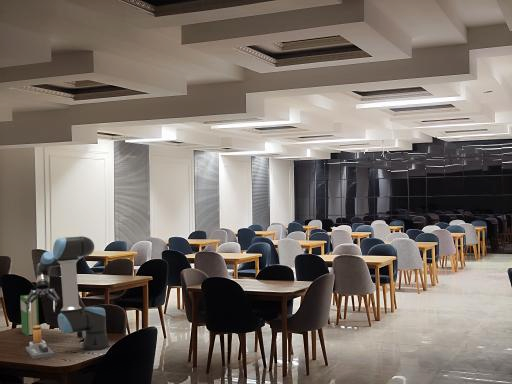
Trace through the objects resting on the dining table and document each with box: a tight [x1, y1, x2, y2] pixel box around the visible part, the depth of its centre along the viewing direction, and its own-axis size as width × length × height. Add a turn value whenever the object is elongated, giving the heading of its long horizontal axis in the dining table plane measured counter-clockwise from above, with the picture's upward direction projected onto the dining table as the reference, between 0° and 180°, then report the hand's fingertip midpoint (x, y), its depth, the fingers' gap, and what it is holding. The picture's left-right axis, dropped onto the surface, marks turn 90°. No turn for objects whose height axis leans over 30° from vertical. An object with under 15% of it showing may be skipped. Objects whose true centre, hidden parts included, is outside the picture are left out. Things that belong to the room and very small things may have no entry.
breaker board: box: [25, 339, 55, 360], centre depth 375 cm, size 26×11×6 cm, turn 28°
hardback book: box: [19, 294, 40, 337], centre depth 434 cm, size 18×7×24 cm, turn 31°
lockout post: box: [32, 324, 43, 344], centre depth 382 cm, size 4×4×12 cm
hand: (42, 311), depth 394 cm, fingers open, 13 cm apart
